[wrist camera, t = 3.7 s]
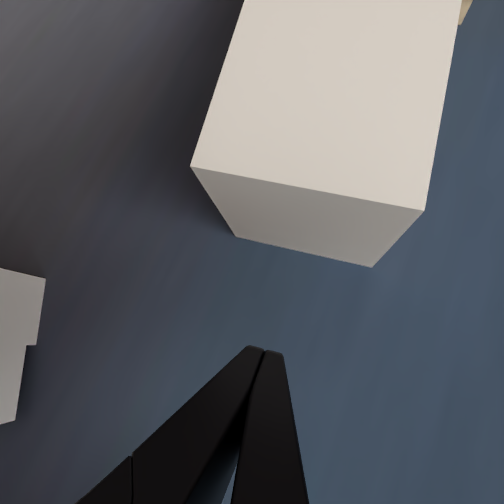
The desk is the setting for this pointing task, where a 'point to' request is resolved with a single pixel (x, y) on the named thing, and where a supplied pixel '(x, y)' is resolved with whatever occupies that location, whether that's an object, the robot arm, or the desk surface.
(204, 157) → the white cardboard box
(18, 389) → the bracket
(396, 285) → the desk surface
